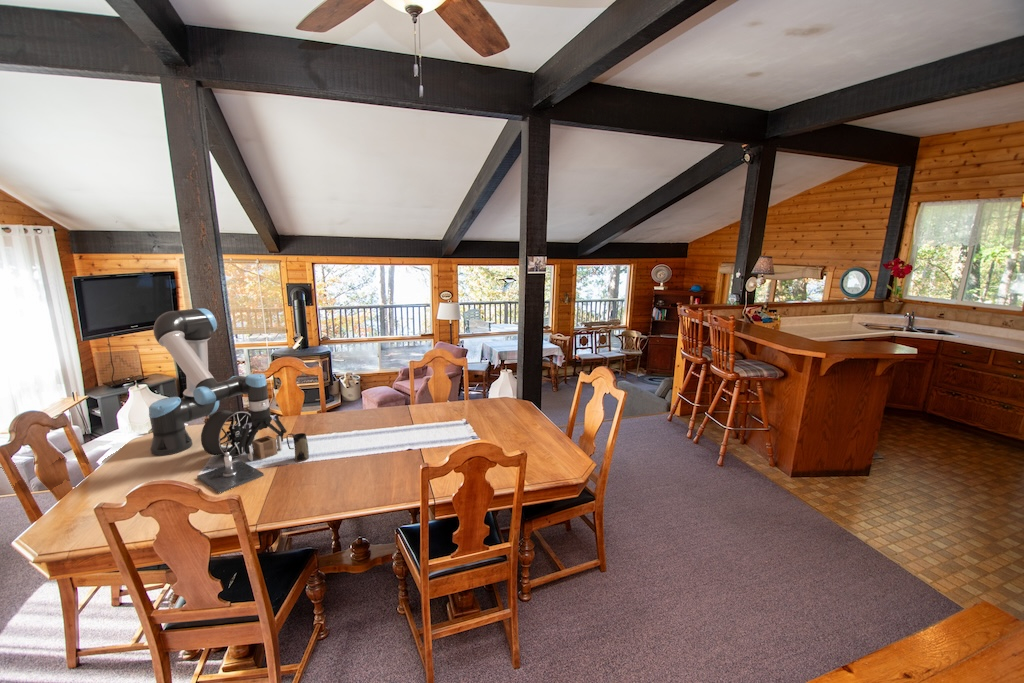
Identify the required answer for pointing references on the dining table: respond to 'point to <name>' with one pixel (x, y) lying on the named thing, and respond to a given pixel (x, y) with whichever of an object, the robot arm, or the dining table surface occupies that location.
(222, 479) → the shaft stand
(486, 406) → the dining table surface
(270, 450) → the hollow wooden cube
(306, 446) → the mug
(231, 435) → the wheel rim
